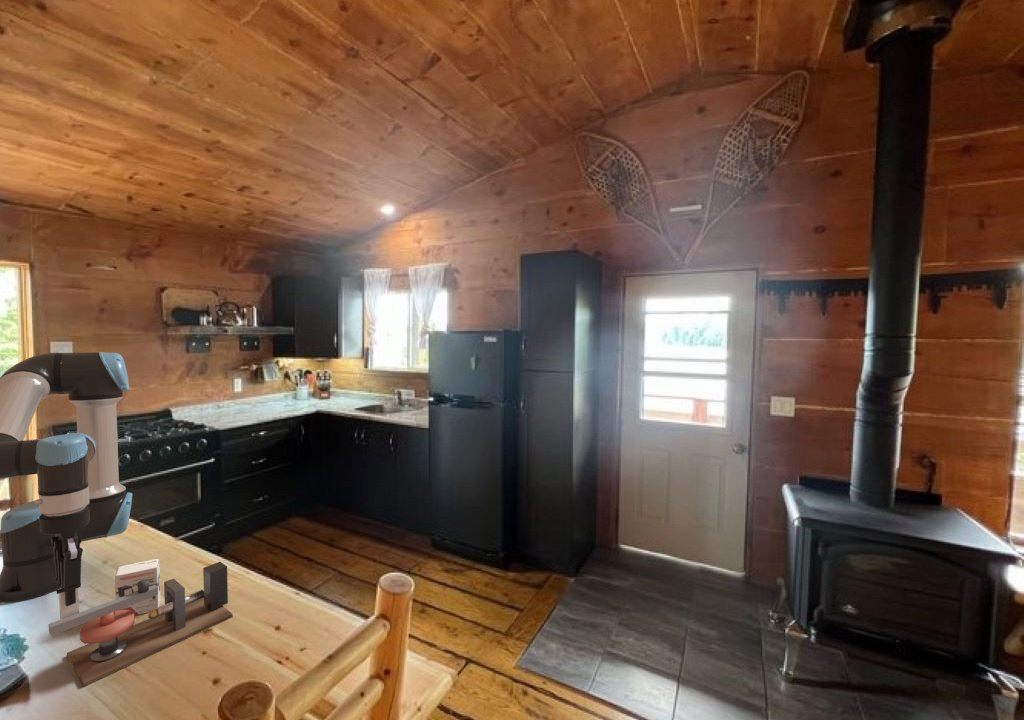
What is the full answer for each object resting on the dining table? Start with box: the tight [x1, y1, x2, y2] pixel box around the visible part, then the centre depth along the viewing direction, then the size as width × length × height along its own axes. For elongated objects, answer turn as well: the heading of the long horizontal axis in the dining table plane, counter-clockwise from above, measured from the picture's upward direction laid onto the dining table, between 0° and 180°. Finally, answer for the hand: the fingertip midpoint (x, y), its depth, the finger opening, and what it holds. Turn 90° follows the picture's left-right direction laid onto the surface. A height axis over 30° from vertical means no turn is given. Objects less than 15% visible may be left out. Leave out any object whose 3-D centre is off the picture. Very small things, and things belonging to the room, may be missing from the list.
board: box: [66, 598, 234, 687], centre depth 108 cm, size 14×28×1 cm, turn 145°
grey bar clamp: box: [147, 561, 229, 619], centre depth 113 cm, size 4×16×10 cm, turn 145°
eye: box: [163, 578, 186, 631], centre depth 111 cm, size 7×2×10 cm, turn 55°
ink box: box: [114, 558, 161, 617], centre depth 116 cm, size 8×5×12 cm, turn 123°
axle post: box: [90, 637, 127, 663], centre depth 101 cm, size 6×6×5 cm
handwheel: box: [48, 579, 158, 645], centre depth 100 cm, size 9×18×8 cm, turn 145°
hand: (69, 616), depth 97 cm, fingers closed
